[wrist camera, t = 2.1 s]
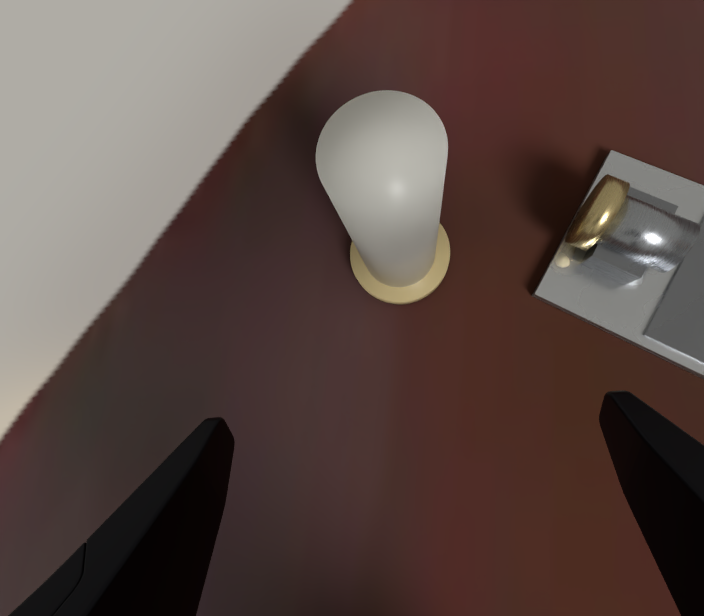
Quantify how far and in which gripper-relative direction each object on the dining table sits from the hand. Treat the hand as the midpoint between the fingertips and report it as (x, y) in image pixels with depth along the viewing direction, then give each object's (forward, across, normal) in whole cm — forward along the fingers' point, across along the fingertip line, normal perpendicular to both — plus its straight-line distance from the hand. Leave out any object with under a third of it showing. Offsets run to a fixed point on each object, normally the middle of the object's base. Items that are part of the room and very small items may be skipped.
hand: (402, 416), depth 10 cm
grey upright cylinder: (+15, 0, +4) cm, 15 cm away
